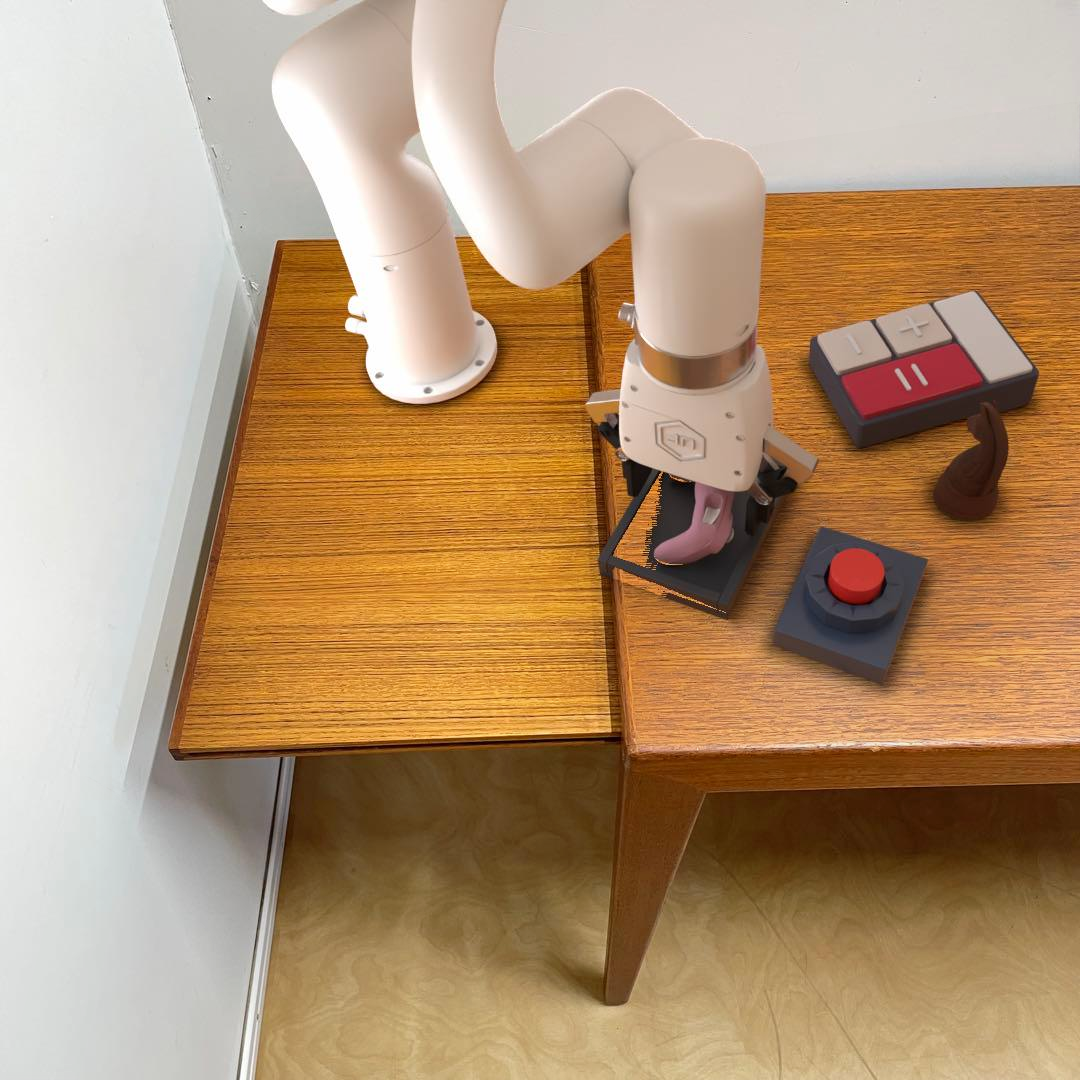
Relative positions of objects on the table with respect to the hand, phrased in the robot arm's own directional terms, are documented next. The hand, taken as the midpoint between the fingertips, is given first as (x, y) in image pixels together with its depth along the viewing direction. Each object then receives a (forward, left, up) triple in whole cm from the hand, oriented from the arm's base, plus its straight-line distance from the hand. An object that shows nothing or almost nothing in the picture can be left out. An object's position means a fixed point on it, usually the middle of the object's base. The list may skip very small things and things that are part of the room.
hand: (696, 502), depth 77 cm
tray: (0, 0, -3) cm, 3 cm away
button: (+13, -3, +1) cm, 14 cm away
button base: (+13, -3, -3) cm, 14 cm away
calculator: (+11, +21, -3) cm, 24 cm away
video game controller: (0, 0, -3) cm, 3 cm away
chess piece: (+18, +10, -3) cm, 21 cm away
